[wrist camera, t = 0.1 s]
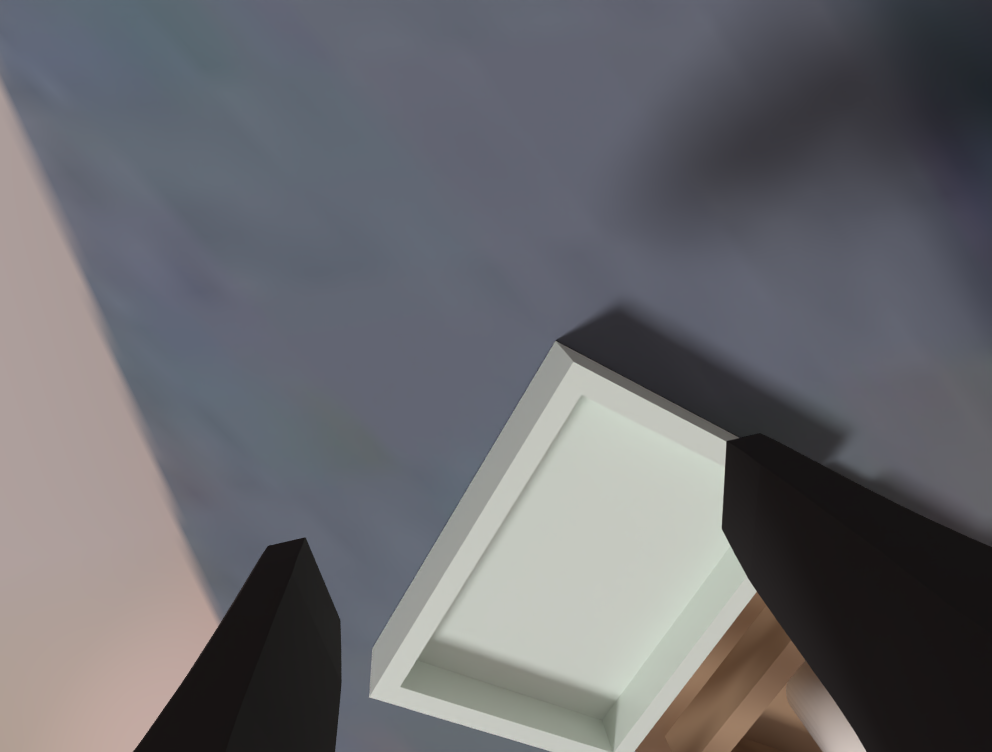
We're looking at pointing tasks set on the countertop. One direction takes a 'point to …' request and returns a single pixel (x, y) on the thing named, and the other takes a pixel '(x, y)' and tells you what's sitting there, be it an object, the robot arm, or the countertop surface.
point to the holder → (737, 695)
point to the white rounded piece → (820, 713)
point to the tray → (572, 571)
